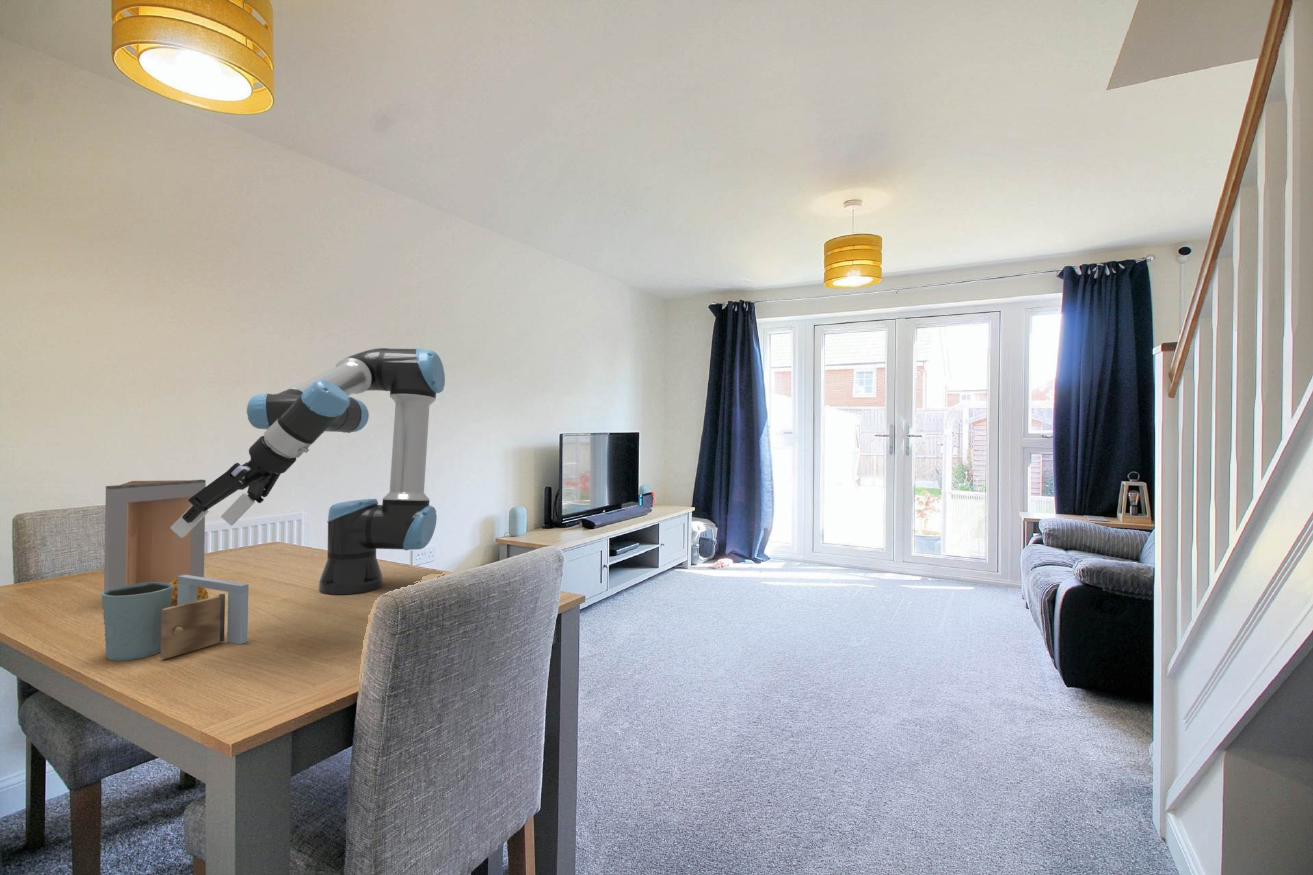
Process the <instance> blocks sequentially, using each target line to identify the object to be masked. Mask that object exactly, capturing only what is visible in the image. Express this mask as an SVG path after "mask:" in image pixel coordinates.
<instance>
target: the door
mask: <svg viewBox="0 0 1313 875" xmlns="http://www.w3.org/2000/svg"><path fill="white" fill-rule="evenodd" d="M225 610H226V594H225V593H220V594H218V595H217V596H213V597H208V598H207V599H203V600H199V601H195V602H190V603H186V604H181V605H177V606H173V607H168V608H164V609H162V611H161V652H160V659H162V660H165V659H169V658H172V657H175V656H180V655H182V654H186V653H189V652H193V651H197V650H199V649H202V648H206V647H210V646H214V645H217V644H221V642H224V641H225V630H226V629H225V627H226V626H225V622H226V621H225V620H226V611H225Z"/></svg>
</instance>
